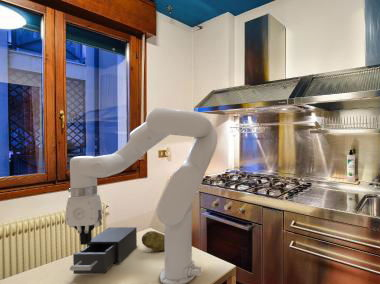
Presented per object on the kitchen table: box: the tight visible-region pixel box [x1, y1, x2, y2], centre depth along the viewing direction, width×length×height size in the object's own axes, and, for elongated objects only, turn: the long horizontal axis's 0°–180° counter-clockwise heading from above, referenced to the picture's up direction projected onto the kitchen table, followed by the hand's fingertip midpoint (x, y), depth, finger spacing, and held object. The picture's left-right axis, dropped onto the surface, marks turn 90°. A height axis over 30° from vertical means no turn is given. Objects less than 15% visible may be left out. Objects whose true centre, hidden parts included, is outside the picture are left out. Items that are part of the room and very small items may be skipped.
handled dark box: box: [69, 244, 117, 275], centre depth 87 cm, size 18×11×7 cm, turn 1°
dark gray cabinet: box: [86, 226, 138, 265], centre depth 97 cm, size 15×13×9 cm
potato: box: [141, 230, 165, 252], centre depth 102 cm, size 8×13×8 cm, turn 81°
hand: (86, 242), depth 80 cm, fingers closed
